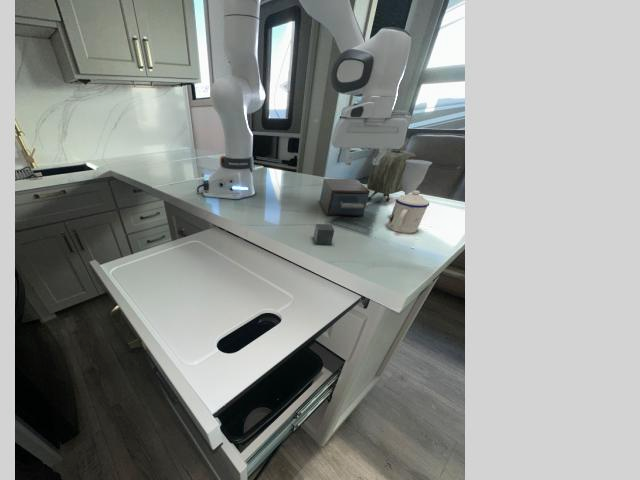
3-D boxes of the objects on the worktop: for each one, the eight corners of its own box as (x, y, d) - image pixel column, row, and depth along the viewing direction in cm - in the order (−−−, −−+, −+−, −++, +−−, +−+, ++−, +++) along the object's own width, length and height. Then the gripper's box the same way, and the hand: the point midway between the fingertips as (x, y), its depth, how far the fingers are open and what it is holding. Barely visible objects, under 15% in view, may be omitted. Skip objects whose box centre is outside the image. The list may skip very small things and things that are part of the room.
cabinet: (362, 216, 95) (369, 191, 90) (326, 214, 95) (332, 190, 90) (350, 202, 107) (356, 179, 102) (319, 201, 108) (323, 178, 102)
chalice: (404, 215, 96) (426, 160, 85) (412, 222, 90) (436, 164, 79) (383, 214, 96) (402, 159, 85) (389, 221, 91) (411, 163, 80)
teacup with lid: (391, 220, 92) (405, 185, 84) (420, 227, 87) (437, 190, 80) (379, 231, 85) (392, 193, 77) (409, 239, 80) (426, 200, 73)
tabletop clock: (383, 195, 115) (406, 126, 100) (403, 200, 109) (430, 129, 94) (362, 200, 109) (382, 128, 94) (381, 206, 103) (406, 130, 88)
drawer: (366, 219, 90) (373, 199, 86) (332, 218, 90) (337, 198, 86) (351, 201, 105) (356, 183, 101) (322, 200, 105) (326, 182, 101)
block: (315, 244, 77) (318, 229, 74) (313, 237, 80) (315, 223, 77) (330, 244, 76) (334, 230, 74) (328, 238, 80) (331, 224, 77)
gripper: (408, 109, 76) (391, 163, 84) (336, 108, 77) (326, 161, 85) (419, 111, 71) (399, 167, 79) (341, 109, 72) (330, 166, 80)
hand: (361, 164), depth 82 cm, fingers open, 7 cm apart
